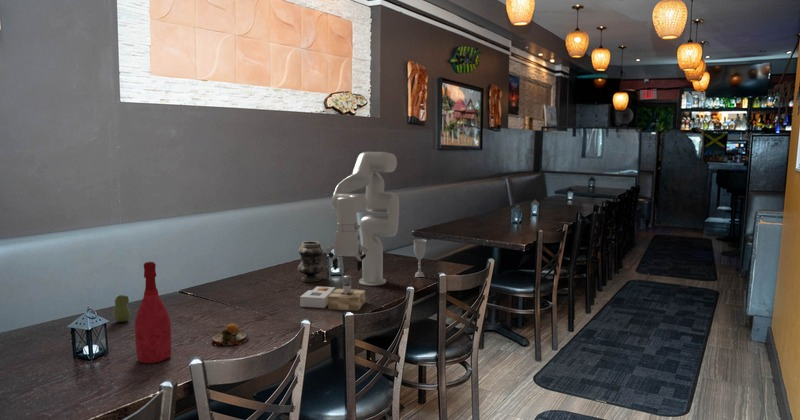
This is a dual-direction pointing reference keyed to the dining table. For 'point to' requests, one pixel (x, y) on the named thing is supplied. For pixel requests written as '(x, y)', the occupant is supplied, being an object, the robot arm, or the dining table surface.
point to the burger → (230, 336)
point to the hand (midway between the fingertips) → (347, 269)
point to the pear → (121, 309)
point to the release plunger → (323, 289)
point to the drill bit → (346, 285)
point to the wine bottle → (152, 323)
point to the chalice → (419, 253)
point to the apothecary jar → (310, 260)
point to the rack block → (346, 300)
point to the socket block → (316, 297)
